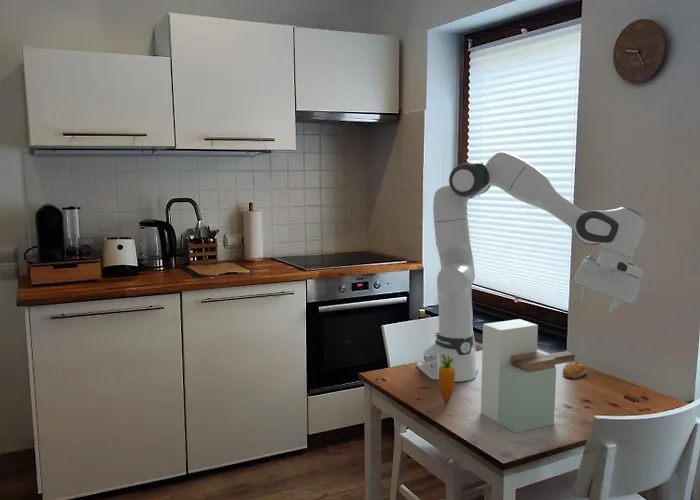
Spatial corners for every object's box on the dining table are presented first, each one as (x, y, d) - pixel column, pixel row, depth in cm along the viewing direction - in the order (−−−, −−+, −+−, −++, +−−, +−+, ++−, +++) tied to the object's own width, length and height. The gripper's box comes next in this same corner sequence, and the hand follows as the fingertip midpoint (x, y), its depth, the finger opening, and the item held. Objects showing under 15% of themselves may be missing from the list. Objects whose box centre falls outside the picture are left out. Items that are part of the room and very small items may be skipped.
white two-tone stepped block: (480, 412, 171) (483, 324, 168) (516, 405, 176) (519, 319, 173) (516, 433, 157) (519, 337, 154) (553, 424, 163) (557, 331, 160)
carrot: (457, 405, 176) (458, 356, 174) (442, 407, 175) (442, 358, 173) (450, 399, 181) (450, 351, 179) (434, 401, 179) (435, 353, 177)
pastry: (578, 381, 197) (578, 370, 197) (557, 377, 201) (558, 366, 201) (586, 373, 204) (587, 362, 204) (566, 370, 208) (567, 359, 208)
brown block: (511, 364, 163) (511, 356, 163) (561, 356, 171) (561, 347, 170) (529, 372, 157) (529, 363, 157) (580, 363, 165) (580, 354, 164)
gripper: (579, 251, 183) (562, 293, 184) (635, 269, 165) (617, 316, 167) (592, 256, 186) (576, 297, 188) (649, 274, 168) (630, 320, 170)
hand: (595, 306), depth 177 cm, fingers open, 8 cm apart
